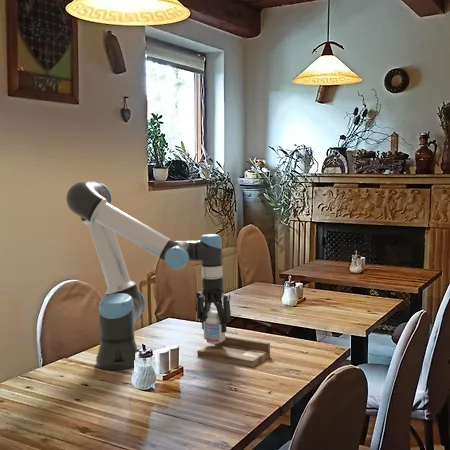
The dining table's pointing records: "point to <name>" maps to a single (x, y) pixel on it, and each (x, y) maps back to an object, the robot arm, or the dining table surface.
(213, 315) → the pill bottle
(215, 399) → the dining table surface
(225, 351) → the wooden stand
